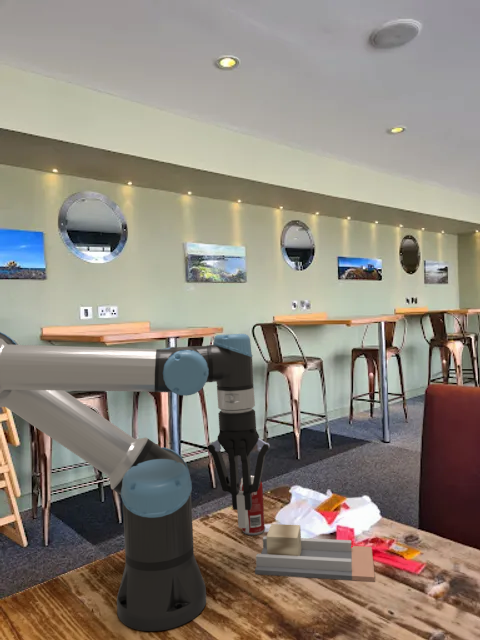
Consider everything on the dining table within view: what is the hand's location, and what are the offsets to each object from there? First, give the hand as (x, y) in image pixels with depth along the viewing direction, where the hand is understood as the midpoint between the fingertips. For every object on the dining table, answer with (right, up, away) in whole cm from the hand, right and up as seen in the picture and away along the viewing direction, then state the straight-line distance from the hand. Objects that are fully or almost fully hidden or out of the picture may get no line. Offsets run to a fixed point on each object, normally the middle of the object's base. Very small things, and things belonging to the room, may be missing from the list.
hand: (243, 525), depth 100 cm
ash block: (+8, -5, -2) cm, 10 cm away
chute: (+14, -6, -3) cm, 16 cm away
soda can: (+2, -7, +13) cm, 15 cm away
